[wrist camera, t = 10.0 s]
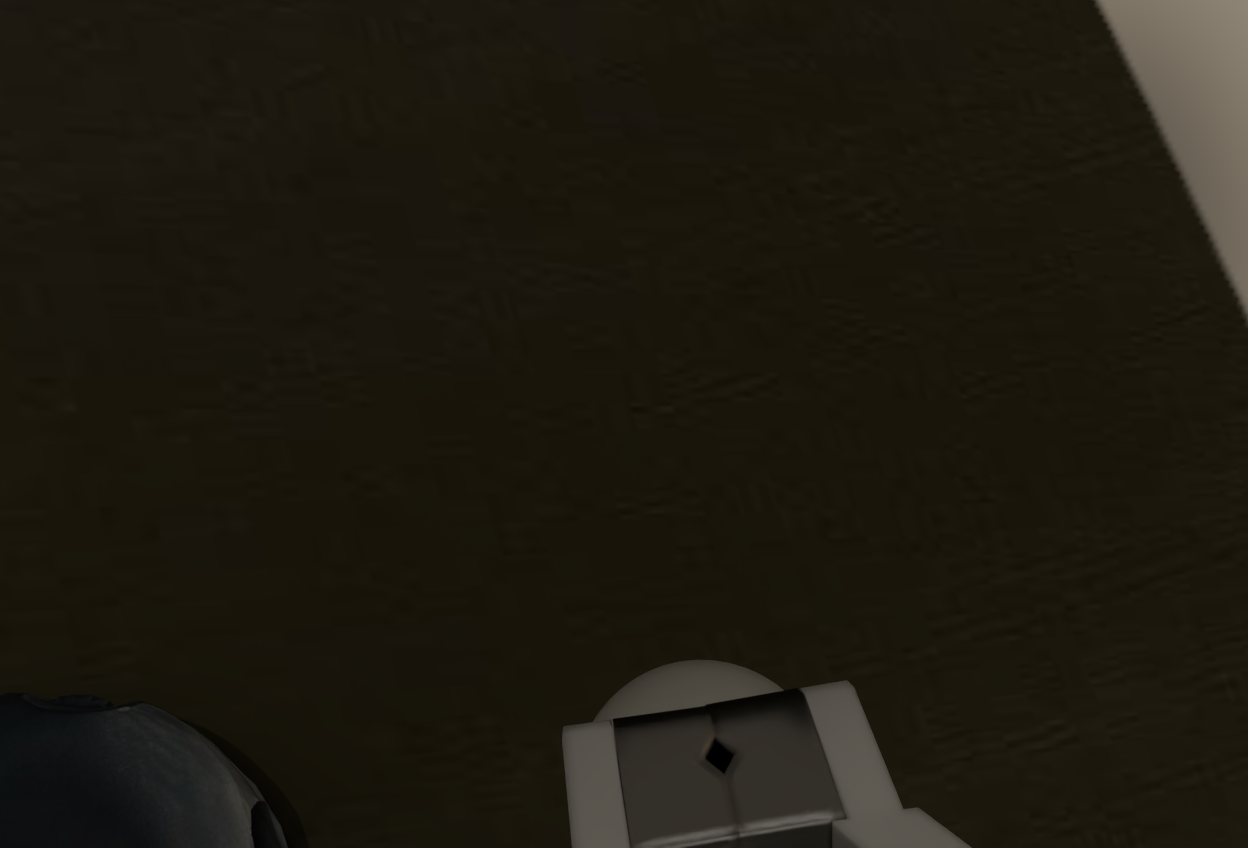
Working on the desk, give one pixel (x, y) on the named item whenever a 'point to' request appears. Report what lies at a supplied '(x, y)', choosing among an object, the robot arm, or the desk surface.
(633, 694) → the switch lever
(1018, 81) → the desk surface
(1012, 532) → the desk surface
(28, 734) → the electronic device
